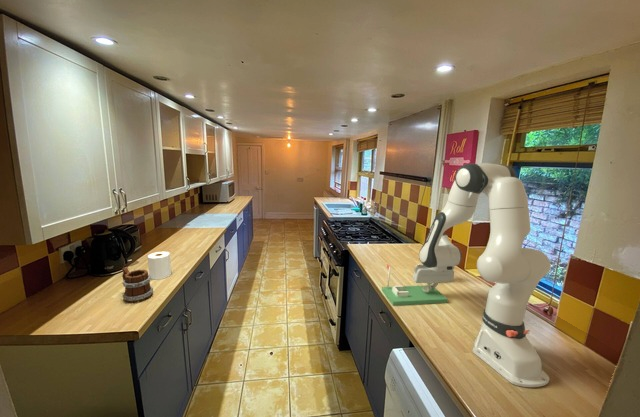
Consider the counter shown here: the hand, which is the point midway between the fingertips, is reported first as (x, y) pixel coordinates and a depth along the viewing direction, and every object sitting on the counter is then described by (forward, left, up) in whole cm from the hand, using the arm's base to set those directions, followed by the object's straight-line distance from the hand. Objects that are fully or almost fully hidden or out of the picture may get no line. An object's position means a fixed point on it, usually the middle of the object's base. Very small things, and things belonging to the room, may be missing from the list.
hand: (431, 289), depth 132 cm
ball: (0, +3, 0) cm, 3 cm away
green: (0, +10, -3) cm, 10 cm away
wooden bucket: (+11, +143, -3) cm, 144 cm away
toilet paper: (+33, +142, -3) cm, 145 cm away
